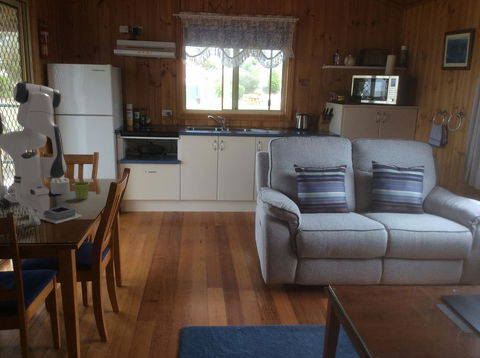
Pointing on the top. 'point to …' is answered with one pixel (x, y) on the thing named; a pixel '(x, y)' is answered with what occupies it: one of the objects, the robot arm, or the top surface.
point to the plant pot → (81, 190)
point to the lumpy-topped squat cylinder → (60, 185)
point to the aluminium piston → (33, 216)
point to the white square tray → (60, 214)
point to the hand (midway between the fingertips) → (34, 216)
